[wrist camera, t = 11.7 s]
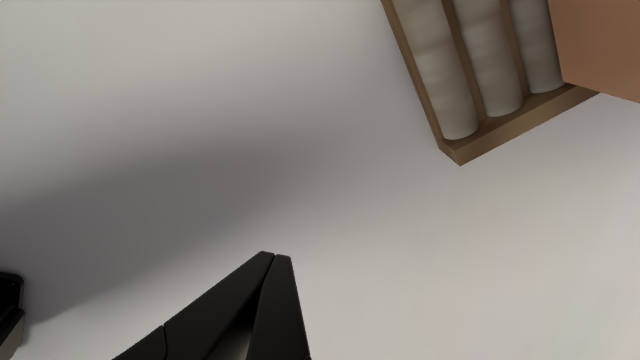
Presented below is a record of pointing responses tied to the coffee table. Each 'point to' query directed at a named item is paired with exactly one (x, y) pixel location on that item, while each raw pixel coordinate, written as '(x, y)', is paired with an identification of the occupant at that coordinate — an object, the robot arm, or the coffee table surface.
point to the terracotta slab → (599, 44)
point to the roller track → (482, 69)
